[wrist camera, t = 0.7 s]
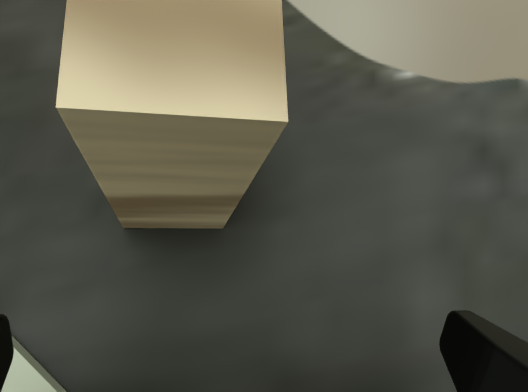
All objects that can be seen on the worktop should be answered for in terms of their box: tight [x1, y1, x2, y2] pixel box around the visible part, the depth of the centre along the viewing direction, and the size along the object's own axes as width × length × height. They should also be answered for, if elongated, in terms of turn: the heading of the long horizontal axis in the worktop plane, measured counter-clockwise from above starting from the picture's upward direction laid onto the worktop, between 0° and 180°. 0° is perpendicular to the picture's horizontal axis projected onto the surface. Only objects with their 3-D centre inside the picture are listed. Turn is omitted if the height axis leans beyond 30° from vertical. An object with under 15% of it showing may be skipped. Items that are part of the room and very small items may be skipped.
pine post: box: [56, 0, 288, 228], centre depth 16 cm, size 5×5×13 cm
